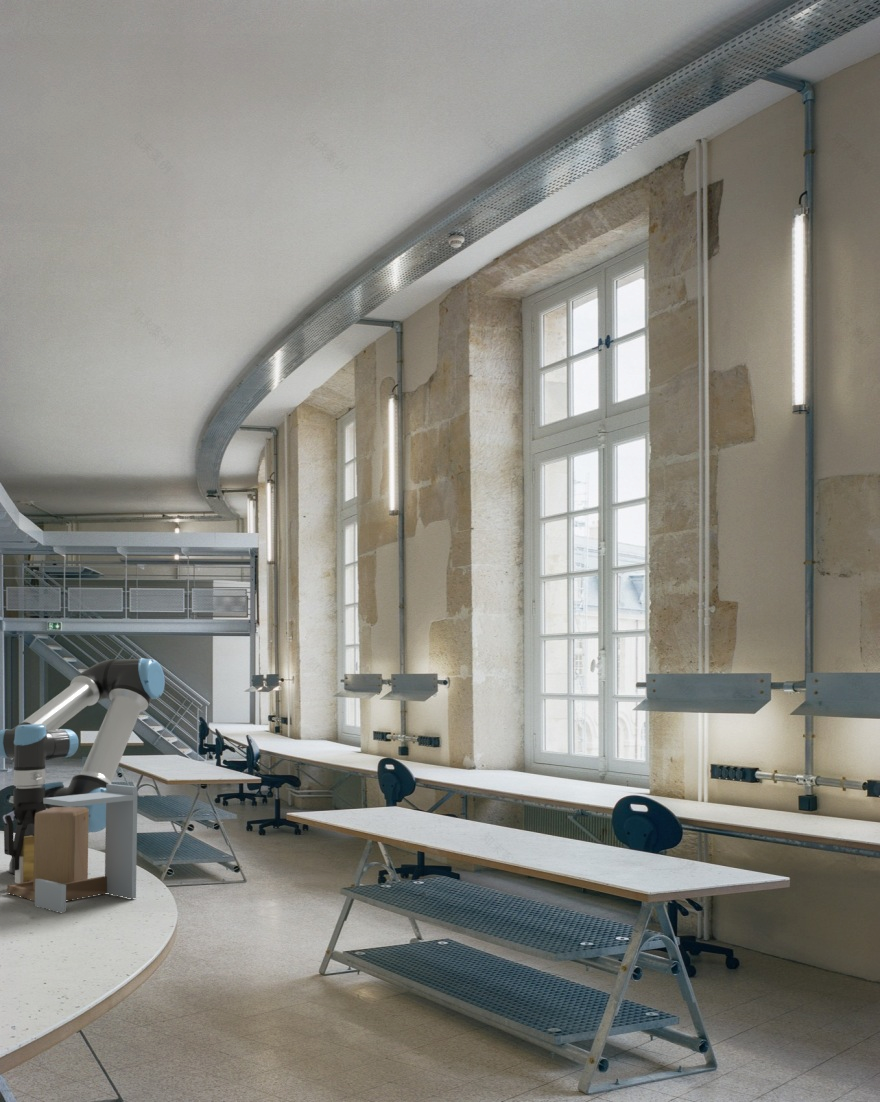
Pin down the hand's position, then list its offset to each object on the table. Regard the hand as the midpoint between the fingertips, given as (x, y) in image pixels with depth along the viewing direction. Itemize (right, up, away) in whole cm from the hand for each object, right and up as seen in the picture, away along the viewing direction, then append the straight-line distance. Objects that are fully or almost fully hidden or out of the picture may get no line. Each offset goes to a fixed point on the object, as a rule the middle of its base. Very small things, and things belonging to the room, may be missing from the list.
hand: (27, 881), depth 276 cm
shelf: (+21, +1, -19) cm, 29 cm away
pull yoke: (+8, 0, -7) cm, 11 cm away
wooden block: (+12, 0, -10) cm, 16 cm away
